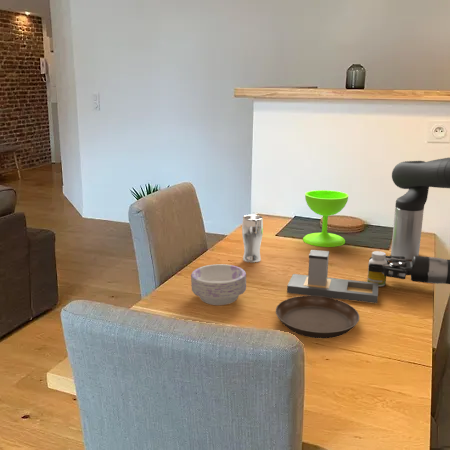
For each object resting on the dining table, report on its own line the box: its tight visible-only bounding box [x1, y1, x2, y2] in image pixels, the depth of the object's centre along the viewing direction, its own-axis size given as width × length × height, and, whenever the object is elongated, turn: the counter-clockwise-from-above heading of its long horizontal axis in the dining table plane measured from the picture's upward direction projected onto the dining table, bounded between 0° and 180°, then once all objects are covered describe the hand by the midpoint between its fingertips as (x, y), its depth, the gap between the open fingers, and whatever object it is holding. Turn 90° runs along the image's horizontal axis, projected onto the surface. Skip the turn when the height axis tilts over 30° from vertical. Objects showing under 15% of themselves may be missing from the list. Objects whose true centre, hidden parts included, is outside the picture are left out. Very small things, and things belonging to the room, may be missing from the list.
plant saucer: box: [275, 295, 360, 339], centre depth 132 cm, size 21×21×3 cm
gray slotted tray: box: [286, 249, 379, 304], centre depth 151 cm, size 10×25×11 cm, turn 73°
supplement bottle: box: [366, 250, 387, 288], centre depth 157 cm, size 5×5×10 cm
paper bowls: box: [190, 263, 247, 306], centre depth 145 cm, size 15×15×8 cm
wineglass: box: [302, 189, 349, 248], centre depth 198 cm, size 16×16×18 cm
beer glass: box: [241, 214, 264, 264], centre depth 176 cm, size 7×7×15 cm
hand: (369, 264), depth 157 cm, fingers closed on supplement bottle, 5 cm apart
